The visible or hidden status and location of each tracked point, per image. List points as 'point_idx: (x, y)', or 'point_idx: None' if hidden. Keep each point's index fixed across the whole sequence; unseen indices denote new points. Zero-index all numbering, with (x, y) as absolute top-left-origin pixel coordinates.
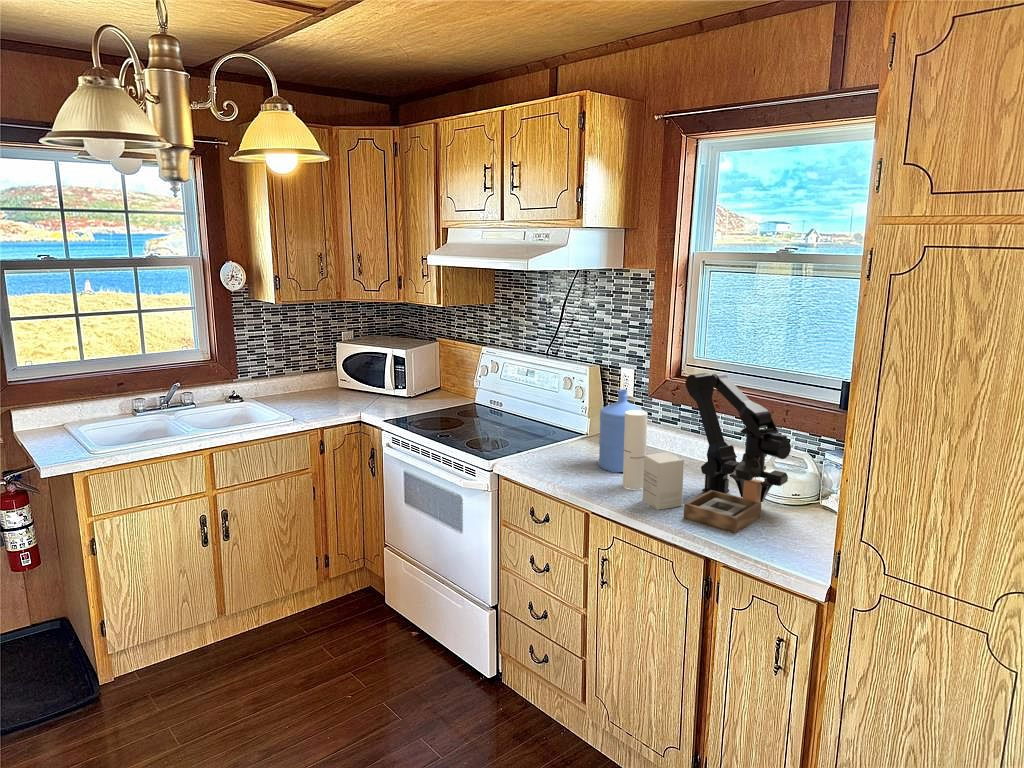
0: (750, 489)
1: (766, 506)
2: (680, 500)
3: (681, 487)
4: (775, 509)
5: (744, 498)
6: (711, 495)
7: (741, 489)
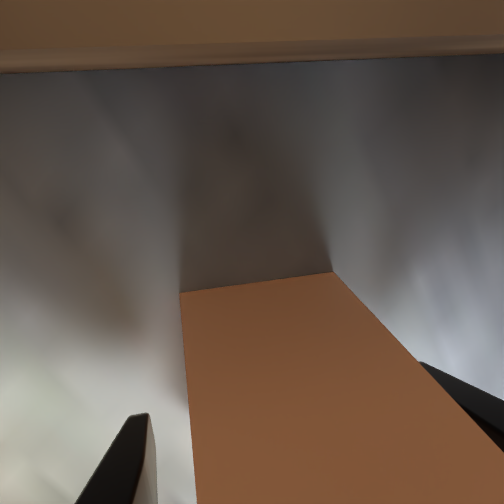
0: (350, 501)
1: None
2: None
3: None
4: (25, 455)
5: (264, 42)
6: None
7: (502, 436)
